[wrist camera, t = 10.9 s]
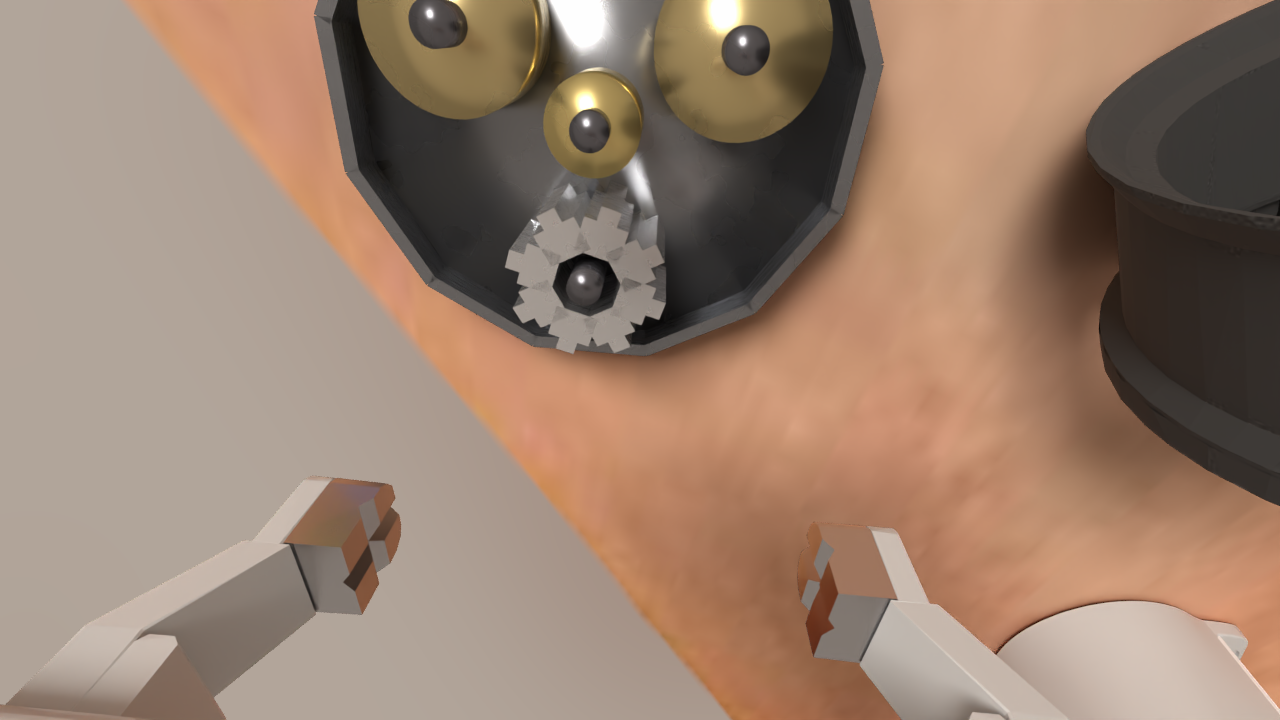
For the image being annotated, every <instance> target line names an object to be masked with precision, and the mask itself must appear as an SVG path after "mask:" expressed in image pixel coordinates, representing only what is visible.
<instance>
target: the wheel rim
mask: <svg viewBox="0 0 1280 720" xmlns="http://www.w3.org/2000/svg"><path fill="white" fill-rule="evenodd" d="M1086 141H1087V152H1088V158H1089V160H1090V162H1091V163H1092V165H1093V167H1094V169H1095V170H1096V172H1097V173H1098V174H1099V175H1100V176H1102V177H1103V178H1104V179H1105V180H1106V181H1107V182H1108V183H1109V184H1110V185H1111V186H1112V187H1114V197H1115V212H1116V227H1117V241H1118V256H1119V272H1118V273H1117V274H1116V275H1115V277H1114V279H1113V280H1112V282H1111V283H1110V285H1109V287H1108V288H1107V291H1106V293H1105V296H1104V298H1103V301H1102V304H1101V310H1100V319H1099V335H1100V345H1101V351H1102V356H1103V361H1104V367H1105V371H1106V373H1107V375H1108V377H1109V378H1110V380H1111V382H1112V384H1113V386H1114V387H1115V389H1116V391H1117V393H1118V395H1119V396H1120V398H1121V400H1122V401H1123V402H1124V403H1125V404H1126V405H1127V406H1128V407H1129V408H1130V409H1131V410H1132V412H1133V413H1134V414H1135V415H1136V416H1137V417H1138V418H1139V419H1140V420H1141V421H1142V422H1143V423H1144V425H1145V426H1147V427H1148V428H1149V429H1150V430H1152V431H1153V432H1154V433H1155V434H1156V435H1158V436H1159V437H1160V438H1161V439H1163V440H1164V441H1165V442H1166V443H1167V444H1169V445H1170V446H1171V447H1173V448H1175V449H1176V450H1178V451H1179V452H1181V453H1182V454H1184V455H1185V456H1187V457H1188V458H1190V459H1191V460H1193V461H1194V462H1196V463H1197V464H1199V465H1200V466H1202V467H1203V468H1205V469H1206V470H1208V471H1210V472H1212V473H1214V474H1216V475H1218V476H1219V477H1221V478H1223V479H1225V480H1227V481H1229V482H1231V483H1233V484H1235V485H1237V486H1239V487H1241V488H1243V489H1245V490H1247V491H1249V492H1250V493H1252V494H1254V495H1256V496H1258V497H1260V498H1262V499H1264V500H1266V501H1269V502H1271V503H1274V504H1276V505H1279V506H1280V0H1274V1H1272V2H1269V3H1267V4H1265V5H1262V6H1260V7H1258V8H1255V9H1253V10H1251V11H1249V12H1246V13H1244V14H1242V15H1240V16H1238V17H1236V18H1234V19H1231V20H1229V21H1227V22H1225V23H1223V24H1221V25H1219V26H1217V27H1215V28H1213V29H1211V30H1209V31H1207V32H1205V33H1203V34H1201V35H1199V36H1197V37H1195V38H1193V39H1191V40H1189V41H1187V42H1185V43H1184V44H1182V45H1180V46H1178V47H1177V48H1175V49H1173V50H1172V51H1170V52H1168V53H1166V54H1165V55H1163V56H1161V57H1160V58H1158V59H1156V60H1155V61H1153V62H1152V63H1150V64H1149V65H1147V66H1146V67H1144V68H1143V69H1141V70H1140V71H1138V72H1137V73H1135V74H1134V75H1133V76H1131V77H1130V78H1129V79H1128V80H1126V81H1125V82H1124V83H1122V84H1121V85H1120V86H1119V87H1118V88H1117V89H1116V90H1115V91H1113V92H1112V93H1111V94H1110V95H1109V96H1108V97H1107V98H1106V99H1105V100H1104V101H1103V102H1102V104H1101V105H1100V106H1099V108H1098V109H1097V111H1096V112H1095V113H1094V115H1093V116H1092V118H1091V120H1090V123H1089V125H1088V128H1087V130H1086Z"/></svg>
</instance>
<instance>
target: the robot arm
mask: <svg viewBox="0 0 1280 720" xmlns="http://www.w3.org/2000/svg"><path fill="white" fill-rule="evenodd" d="M394 500H395V495H394V491H393V488H392V486H391V485H389V484H385V483H376V482H368V481H359V480H349V479H342V478H329V477H320V476H310V477H308V478H306V479H304V480H303V481H302V482H301V483H300V484H299V486H298V487H297V488H296V489H295V490H294V492H293V493H292V494H291V495H290V496H289V497H288V499H287V500H286V501H285V502H284V503H283V505H282V506H281V507H280V508H279V509H278V511H277V512H276V513H275V514H274V515H273V517H272V518H271V519H270V520H269V521H268V522H267V524H266V525H265V526H264V528H263V529H262V530H261V531H260V532H259V533H258V534H257V535H256V537H255V538H254V539H253V540H252V541H246V540H244V541H242V542H240V543H238V544H236V545H234V546H232V547H231V548H229V549H227V550H225V551H223V552H221V553H219V554H217V555H216V556H214V557H212V558H210V559H208V560H206V561H204V562H202V563H201V564H199V565H197V566H195V567H193V568H191V569H189V570H187V571H185V572H184V573H182V574H180V575H178V576H176V577H174V578H172V579H170V580H169V581H167V582H165V583H163V584H161V585H159V586H157V587H156V588H154V589H152V590H150V591H148V592H146V593H144V594H142V595H140V596H139V597H137V598H135V599H133V600H131V601H129V602H127V603H125V604H124V605H122V606H120V607H118V608H116V609H114V610H112V611H111V612H109V613H107V614H105V615H103V616H101V617H99V618H97V619H95V620H94V621H92V622H90V623H88V624H86V625H85V626H84V627H83V628H82V629H81V630H80V631H79V632H78V633H77V634H76V635H75V636H74V637H73V638H72V639H71V640H70V641H69V642H68V643H67V644H66V645H65V646H64V647H63V648H62V649H61V650H60V651H59V652H58V653H57V654H56V655H55V656H54V657H53V658H52V659H51V660H50V661H49V662H48V663H47V664H46V665H45V666H44V667H43V668H42V669H41V670H40V671H39V672H38V673H37V674H36V675H35V676H34V677H33V678H32V679H31V680H30V681H29V682H28V683H27V684H26V685H25V686H24V687H23V688H22V689H21V690H20V691H19V692H18V693H17V694H16V695H15V696H14V697H13V698H12V699H11V700H10V701H9V702H8V703H7V704H6V705H0V720H226V717H225V716H224V714H223V712H222V711H221V709H220V708H219V706H218V704H217V703H216V701H215V700H214V697H215V696H216V695H217V694H218V693H220V692H221V691H222V690H223V689H225V688H226V687H227V686H228V685H230V684H231V683H232V682H233V681H235V680H236V679H237V678H238V677H240V676H241V675H242V674H243V673H244V672H245V671H247V670H248V669H249V668H251V667H252V666H253V665H254V664H256V663H257V662H258V661H259V660H260V659H262V658H263V657H264V656H265V655H267V654H268V653H269V652H270V651H272V650H273V649H274V648H275V647H277V646H278V645H279V644H280V643H281V642H283V641H284V640H285V639H286V638H288V637H289V636H290V635H291V634H293V633H294V632H295V631H296V630H297V629H299V628H300V627H301V626H302V625H304V624H305V623H306V622H307V621H309V620H310V619H311V618H312V617H313V616H315V615H316V612H327V613H342V614H358V615H362V614H363V612H364V610H365V609H366V607H367V605H368V603H369V601H370V599H371V598H372V596H373V594H374V592H375V590H376V588H377V586H378V585H379V581H378V577H377V572H378V571H380V570H381V569H383V568H384V567H385V566H387V565H388V564H390V562H391V561H392V559H393V557H394V555H395V553H396V551H397V547H398V543H399V540H400V536H401V522H400V517H399V514H398V513H397V512H395V510H394V509H393V508H391V505H392V503H393V501H394ZM807 539H808V543H809V547H807V548H806V549H804V550H803V551H802V552H801V555H800V559H799V563H798V574H797V580H798V590H799V595H800V600H801V602H802V603H803V604H804V605H805V607H806V608H807V609H808V610H809V611H810V612H809V615H808V618H807V621H806V627H807V632H808V636H809V640H810V645H811V649H812V654H813V657H815V658H824V659H832V660H840V661H848V662H856V663H860V666H861V668H862V669H863V670H864V672H865V673H866V674H867V676H868V677H869V678H870V679H871V681H872V682H873V683H874V685H875V686H876V687H877V689H878V690H879V691H880V692H881V694H882V695H883V696H884V698H885V699H886V700H887V701H888V703H889V704H890V705H891V707H892V708H893V709H894V711H895V712H896V713H897V714H898V716H899V717H900V718H901V720H1280V709H1279V708H1278V707H1277V705H1276V704H1275V703H1274V702H1273V700H1272V699H1271V698H1270V697H1269V695H1268V694H1267V693H1266V692H1265V691H1264V689H1263V688H1262V687H1261V686H1260V684H1259V683H1258V682H1257V681H1256V680H1255V678H1254V677H1253V676H1252V675H1251V673H1250V672H1249V671H1248V670H1247V669H1246V667H1245V666H1244V665H1243V664H1242V662H1241V661H1240V659H1241V657H1242V655H1243V653H1244V651H1245V649H1246V647H1247V645H1248V640H1247V639H1246V637H1245V636H1244V635H1243V634H1242V632H1241V631H1240V630H1239V628H1238V627H1237V626H1235V625H1232V624H1228V623H1223V622H1215V621H1205V620H1201V619H1198V618H1196V617H1194V616H1192V615H1190V614H1188V613H1186V612H1185V611H1183V610H1181V609H1178V608H1176V607H1173V606H1169V605H1165V604H1161V603H1155V602H1146V601H1118V602H1108V603H1100V604H1094V605H1089V606H1085V607H1080V608H1076V609H1073V610H1069V611H1066V612H1063V613H1060V614H1057V615H1054V616H1052V617H1049V618H1047V619H1045V620H1042V621H1040V622H1038V623H1036V624H1034V625H1032V626H1030V627H1029V628H1027V629H1025V630H1024V631H1022V632H1020V633H1019V634H1018V635H1016V636H1015V637H1014V638H1012V639H1011V640H1010V641H1009V642H1008V643H1006V644H1005V645H1004V646H1003V648H1002V649H1001V650H1000V651H999V652H998V653H997V655H995V654H994V653H993V652H992V651H991V650H990V649H988V648H987V647H986V646H985V645H984V644H983V643H982V642H980V641H979V640H978V639H977V638H976V637H975V636H974V635H972V634H971V633H970V632H969V631H968V630H967V629H966V628H964V627H963V626H962V625H961V624H960V623H959V622H958V621H956V620H955V619H954V618H953V617H952V616H951V615H950V614H949V613H947V612H946V611H945V610H944V609H943V608H942V607H941V606H939V605H938V604H930V603H929V600H928V598H927V596H926V594H925V592H924V589H923V587H922V585H921V583H920V581H919V578H918V576H917V574H916V572H915V570H914V567H913V565H912V563H911V561H910V559H909V556H908V554H907V552H906V550H905V547H904V545H903V543H902V541H901V539H900V536H899V534H898V532H896V531H895V530H894V529H893V528H883V527H871V526H866V527H865V526H860V525H847V524H835V523H822V522H813V523H812V524H811V526H810V527H809V530H808V533H807Z"/></svg>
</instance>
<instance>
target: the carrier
mask: <svg viewBox="0 0 1280 720" xmlns="http://www.w3.org/2000/svg"><path fill="white" fill-rule="evenodd" d="M314 14H315V15H317V16H314V18H315V23H316V28H317V34H318V39H319V44H320V49H321V54H322V59H323V64H324V69H325V74H326V79H327V84H328V89H329V94H330V99H331V104H332V109H333V114H334V119H335V124H336V129H337V134H338V139H339V144H340V149H341V154H342V159H343V164H344V169H345V172H347V173H346V174H347V176H348V177H349V179H350V180H351V181H352V183H353V184H354V186H355V187H356V188H357V190H358V191H359V192H360V194H361V195H362V197H363V198H364V199H365V201H366V202H367V203H368V205H369V206H370V208H371V209H372V210H373V212H374V213H375V215H376V216H377V217H378V219H379V220H380V221H381V223H382V224H383V226H384V227H385V228H386V230H387V231H388V233H389V234H390V235H391V237H392V238H393V239H394V241H395V242H396V244H397V245H398V246H399V248H400V249H401V250H402V252H403V253H404V255H405V256H406V257H407V259H408V260H409V262H410V263H411V264H412V266H413V267H414V268H415V270H416V271H417V273H418V274H419V275H420V277H421V278H422V279H423V281H424V282H425V284H426V285H427V284H428V286H429V287H430V288H432V289H434V290H436V291H437V292H439V293H441V294H443V295H444V296H446V297H448V298H450V299H451V300H453V301H455V302H456V303H458V304H460V305H462V306H463V307H465V308H467V309H469V310H470V311H472V312H474V313H476V314H477V315H479V316H481V317H482V318H484V319H486V320H488V321H489V322H491V323H493V324H495V325H496V326H498V327H500V328H502V329H503V330H505V331H507V332H508V333H510V334H512V335H514V336H515V337H517V338H519V339H521V340H522V341H524V342H526V343H528V344H529V345H531V346H532V345H533V347H544V348H556V346H557V343H558V340H559V337H557V336H554V335H551V334H548V332H549V329H550V326H551V324H548V325H546V326H544V327H540V326H539V324H538V323H537V321H536V320H535V318H534V319H532V320H529V321H527V322H525V323H522V322H521V320H520V319H519V317H518V316H517V314H516V312H515V311H514V309H513V306H514V304H515V302H516V301H517V299H518V297H519V295H520V294H519V293H518V292H519V290H520V289H521V287H522V285H520V284H518V283H517V280H518V276H519V273H520V272H517V271H514V270H511V269H508V268H505V265H506V261H507V257H508V253H509V249H510V248H511V247H512V245H513V244H514V242H515V241H516V239H517V238H518V237H519V235H520V234H521V232H522V231H523V230H524V228H525V227H526V225H527V224H528V223H529V221H530V220H534V221H537V222H539V221H538V219H537V217H536V216H537V215H538V213H539V212H540V210H541V209H542V208H543V206H544V205H545V203H546V202H547V200H548V199H549V197H550V196H551V195H552V193H553V192H554V190H556V189H558V188H560V187H562V186H564V185H566V184H568V183H571V185H572V186H573V188H574V190H575V192H576V194H577V195H578V194H580V193H582V192H584V191H586V190H587V192H588V193H589V195H590V197H591V199H592V197H593V195H594V193H595V190H598V191H601V192H603V193H606V192H607V190H608V187H609V184H610V181H613V182H616V183H618V184H621V185H624V186H626V187H628V189H627V193H626V198H625V201H628V202H630V203H633V204H634V208H633V213H636V212H638V211H640V210H641V211H642V213H643V215H644V217H645V220H647V219H649V218H651V217H653V216H656V215H658V216H659V218H660V220H661V223H662V225H663V227H664V229H665V263H662V264H660V265H661V266H664V267H666V304H665V307H664V309H663V311H662V314H661V316H660V319H659V320H658V319H655V318H652V317H649V316H646V315H645V318H644V320H643V323H642V325H639V324H636V327H635V332H632V339H631V347H629V348H626V349H624V350H621V351H619V352H616V353H615V354H626V355H638V356H646V355H647V356H648V355H651V354H653V353H656V352H659V351H661V350H664V349H666V348H669V347H671V346H674V345H676V344H679V343H682V342H684V341H687V340H689V339H692V338H694V337H697V336H699V335H702V334H705V333H707V332H710V331H712V330H715V329H717V328H720V327H722V326H725V325H727V324H730V323H733V322H735V321H738V320H740V319H743V318H745V317H748V316H750V315H753V314H755V313H756V312H757V311H758V310H759V309H760V308H761V307H762V306H763V305H764V303H765V302H766V301H767V300H768V299H769V298H770V297H771V296H772V295H773V293H774V292H775V291H776V290H777V289H778V288H779V287H780V286H781V284H782V283H783V282H784V281H785V280H786V279H787V278H788V277H789V276H790V274H791V273H792V272H793V271H794V270H795V269H796V268H797V267H798V265H799V264H800V263H801V262H802V261H803V260H804V259H805V258H806V257H807V255H808V254H809V253H810V252H811V251H812V250H813V249H814V248H815V247H816V245H817V244H818V243H819V242H820V241H821V240H822V239H823V238H824V236H825V235H826V234H827V233H828V232H829V231H830V230H831V229H832V228H833V226H834V225H835V224H836V223H837V222H838V221H839V220H840V219H841V217H842V215H844V211H845V207H846V204H847V200H848V196H849V192H850V189H851V185H852V181H853V177H854V174H855V170H856V166H857V163H858V159H859V155H860V151H861V148H862V144H863V140H864V137H865V133H866V129H867V125H868V122H869V118H870V114H871V111H872V107H873V103H874V99H875V96H876V92H877V88H878V85H879V81H880V77H881V73H882V70H883V66H884V65H881V64H883V63H884V62H883V58H882V53H881V49H880V45H879V40H878V36H877V32H876V27H875V23H874V19H873V14H872V10H871V6H870V1H869V0H318V3H317V6H316V9H315V12H314ZM633 213H632V214H633ZM841 214H842V215H841ZM571 260H572V262H573V263H574V267H573V269H572V272H571V274H570V277H569V279H568V282H567V285H566V292H567V295H568V297H569V298H570V300H571V301H573V302H574V303H576V304H578V305H581V306H588V305H592V304H594V303H595V302H596V301H597V300H598V299H599V297H600V295H601V291H602V287H603V283H604V279H605V277H606V276H609V275H611V274H613V273H614V271H613V269H612V267H611V265H610V263H609V262H608V261H605V260H602V259H599V258H597V257H594V256H591V255H588V254H585V253H581V254H579V255H576V256H574V257H572V258H571ZM754 312H755V313H754ZM575 350H580V351H591V352H603V353H614V352H613V350H612V349H611V347H610V345H609V343H608V342H607V343H605V344H602V345H600V346H597V345H596V343H595V341H594V339H593V338H591V340H590V343H589V346H585V345H582V344H579V343H577V345H576V348H575Z"/></svg>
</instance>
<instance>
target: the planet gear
mask: <svg viewBox="0 0 1280 720" xmlns="http://www.w3.org/2000/svg"><path fill="white" fill-rule="evenodd" d="M627 189H628V187H626V186H624V185H621V184H618V183H616V182H613V181H610V184H609V187H608V190H607V192H606V193H603V192H601V191H598V190H595V193H594V195H593V197H592V199H591V197H590V195H589V193H588V192H587V190H586V191H584V192H582V193H580V194H578V195H577V194H576V192H575V190H574V188H573V186H572V185H571V183H568V184H566V185H564V186H562V187H560V188H558V189H556V190H554V192H553V193H552V195H551V196H550V197H549V199H548V200H547V202H546V203H545V205H544V206H543V208H542V209H541V210H540V212H539V213H538V215H537V216H536V217H537V219H538V221H539V222H537V221H534V220H530V221H529V223H528V224H527V225H526V227H525V228H524V230H523V231H522V232H521V234H520V235H519V237H518V238H517V239H516V241H515V242H514V244H513V245H512V247H511V248H510V249H509V253H508V257H507V261H506V265H505V268H508V269H511V270H514V271H517V272H520V273H519V276H518V280H517V283H518V284H520V285H522V287H521V289H520V290H519V292H518V293H519V294H520V295H519V297H518V299H517V301H516V302H515V304H514V306H513V309H514V311H515V312H516V314H517V316H518V317H519V319H520V320H521V322H522V323H525V322H527V321H529V320H532V319H534V318H535V320H536V321H537V323H538V324H539V326H540V327H544V326H546V325H548V324H551V326H550V329H549V332H548V334H551V335H554V336H557V337H559V340H558V343H557V346H556V349H559V350H562V351H565V352H568V353H571V354H574V351H575V348H576V345H577V343H579V344H582V345H585V346H589V343H590V340H591V338H593V339H594V341H595V343H596V345H597V346H600V345H602V344H605V343H607V342H608V343H609V345H610V347H611V349H612V350H613V352H614V353H616V352H619V351H621V350H624V349H626V348H629V347H631V339H632V332H635V327H636V324H639V325H642V323H643V320H644V318H645V315H646V316H649V317H652V318H655V319H658V320H659V319H660V316H661V314H662V311H663V309H664V307H665V304H666V267H664V266H661V265H660V264H662V263H665V229H664V227H663V225H662V223H661V220H660V218H659V216H658V215H656V216H653V217H651V218H649V219H647V220H645V217H644V215H643V213H642V211H641V210H640V211H638V212H636V213H633V208H634V204H633V203H630V202H628V201H625V198H626V193H627ZM632 213H633V214H632ZM581 253H585V254H588V255H591V256H594V257H597V258H599V259H602V260H605V261H608V262H609V263H610V265H611V267H612V269H613V271H614V273H613V274H611V275H609V276H606V277H605V279H604V283H603V287H602V291H601V295H600V297H599V299H598V300H597V301H596V302H595V303H594V304H592V305H588V306H581V305H578V304H576V303H574V302H573V301H571V300H570V298H569V297H568V295H567V292H566V285H567V282H568V279H569V277H570V274H571V272H572V269H573V267H574V263H573V262H572V260H571V258H572V257H574V256H576V255H579V254H581Z"/></svg>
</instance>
